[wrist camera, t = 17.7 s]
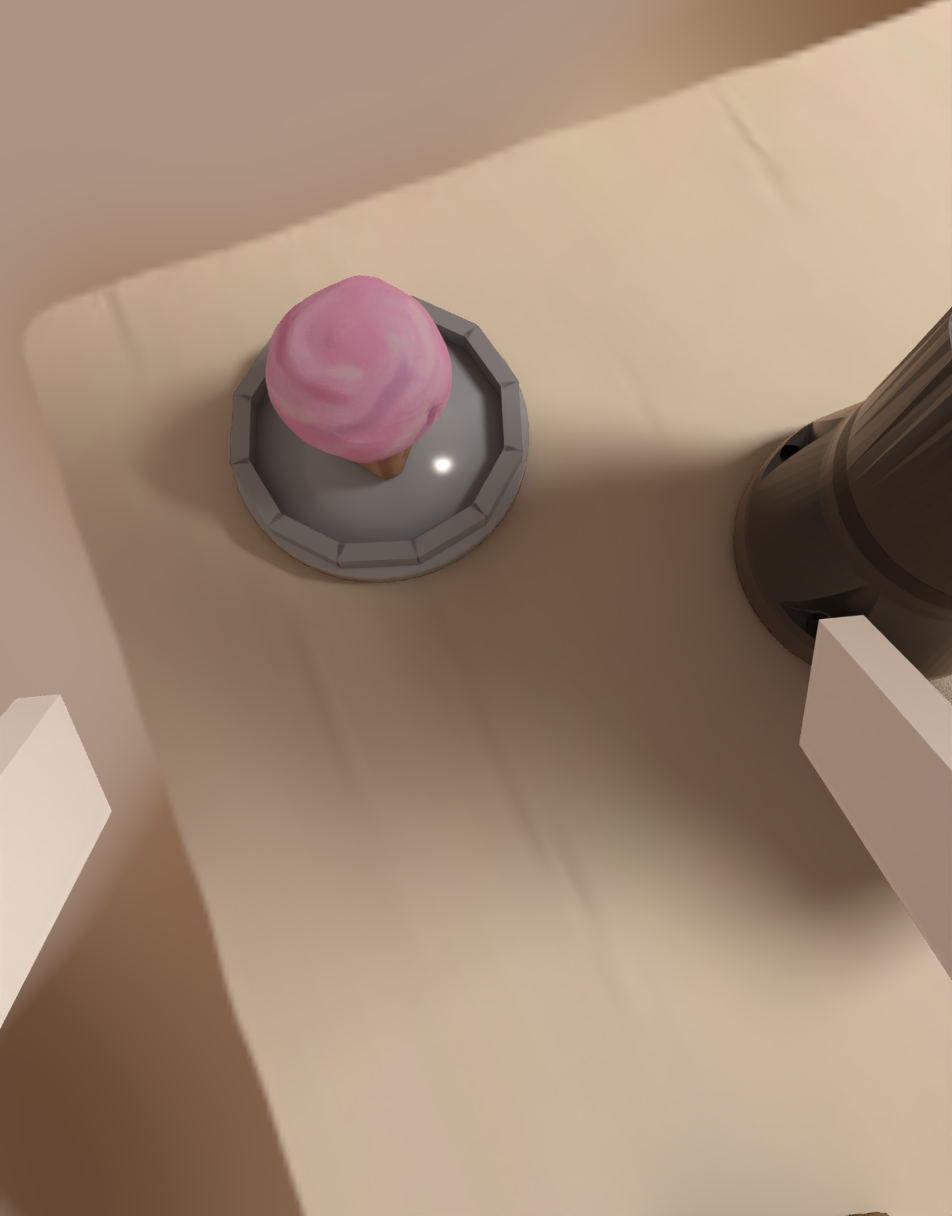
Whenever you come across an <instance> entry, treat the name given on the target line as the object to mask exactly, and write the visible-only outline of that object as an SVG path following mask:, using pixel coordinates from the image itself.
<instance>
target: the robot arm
mask: <svg viewBox="0 0 952 1216" xmlns="http://www.w3.org/2000/svg"><path fill="white" fill-rule="evenodd" d="M734 553H735V560H736V566H737V570H738V574H739V577H740V580H741V583H742V586H743V588H744V591H745V593H746V596H747V597H748V599H749V601H750V603H751V605H752V607H753V609H754V610H755V612H756V613H757V615H758V616H759V618H760V619H761V621H762V622H763V623H764V624H765V626H766V627H767V628H768V629H769V631H770V632H771V633H772V634H773V635H774V636H775V637H776V638H777V639H778V640H779V641H780V642H781V643H782V644H783V645H784V646H785V647H787V648H788V649H789V650H790V651H792V652H793V653H794V654H796V655H797V656H798V657H800V658H801V659H803V660H804V661H806V662H807V663H809V664H811V665H812V666H811V673H810V679H809V685H808V691H807V698H806V704H805V710H804V716H803V723H802V729H801V735H800V741H799V745H800V746H801V748H802V749H803V751H804V753H805V754H806V756H807V757H808V759H809V760H810V762H811V763H812V765H813V766H814V768H815V770H816V771H817V773H818V774H819V776H820V777H821V779H822V780H823V782H824V783H825V785H826V787H827V788H828V790H829V791H830V793H831V794H832V796H833V797H834V799H835V800H836V802H837V804H838V805H839V807H840V808H841V810H842V811H843V813H844V814H845V816H846V817H847V819H848V821H849V822H850V824H851V825H852V827H853V828H854V830H855V831H856V833H857V834H858V836H859V838H860V839H861V841H862V842H863V844H864V845H865V847H866V848H867V850H868V851H869V853H870V855H871V856H872V858H873V859H874V861H875V862H876V864H877V865H878V867H879V868H880V870H881V872H882V873H883V875H884V876H885V878H886V879H887V881H888V882H889V884H890V885H891V887H892V889H893V890H894V892H895V893H896V895H897V896H898V898H899V899H900V901H901V902H902V904H903V906H904V907H905V909H906V910H907V912H908V913H909V915H910V916H911V918H912V919H913V921H914V922H915V924H916V926H917V927H918V929H919V930H920V932H921V933H922V935H923V936H924V938H925V939H926V941H927V943H928V944H929V946H930V947H931V949H932V950H933V952H934V953H935V955H936V956H937V958H938V960H939V961H940V963H941V964H942V966H943V967H944V969H945V970H946V972H947V973H948V975H949V977H950V978H951V980H952V704H951V703H950V702H949V701H948V700H947V699H946V698H945V697H944V696H943V695H942V694H941V693H940V692H939V691H938V690H937V689H936V688H935V687H934V686H933V685H932V684H931V683H930V682H929V681H932V680H935V679H939V678H942V677H946V676H949V675H952V307H951V308H950V309H949V311H948V312H947V313H946V314H945V315H944V316H943V317H942V318H941V319H940V320H939V321H938V323H937V324H936V325H935V326H934V327H933V328H932V329H931V330H930V331H929V332H928V333H927V335H926V336H925V337H924V338H923V339H922V340H921V341H920V342H919V343H918V344H917V345H916V347H915V348H914V349H913V350H912V351H911V352H910V353H909V354H908V355H907V356H906V357H905V358H904V359H903V361H902V362H901V363H900V364H899V365H898V366H897V367H896V368H895V369H894V370H893V371H892V372H891V373H890V374H889V375H888V376H887V377H886V378H885V379H884V380H883V381H882V383H881V384H880V385H879V386H878V387H877V388H876V389H875V390H874V391H873V392H872V393H871V395H870V396H869V397H868V398H867V399H866V400H865V401H862V402H860V403H857V404H855V405H852V406H850V407H847V408H845V409H842V410H840V411H837V412H835V413H832V414H830V415H827V416H825V417H822V418H820V419H818V420H816V421H813V422H811V423H810V424H808V425H806V426H804V427H803V428H801V429H799V430H798V431H796V432H795V433H794V434H792V435H791V436H790V437H788V438H787V439H786V440H785V441H783V442H782V443H781V444H780V445H779V446H778V447H777V448H776V449H775V450H774V451H773V453H772V454H771V455H770V456H769V457H768V458H767V460H766V461H765V462H764V463H763V465H762V466H761V467H760V468H759V470H758V471H757V472H756V474H755V475H754V476H753V478H752V479H751V481H750V483H749V484H748V486H747V488H746V490H745V492H744V494H743V496H742V499H741V501H740V505H739V508H738V511H737V516H736V521H735V527H734ZM111 812H112V811H111V808H110V806H109V804H108V801H107V799H106V797H105V795H104V792H103V790H102V788H101V786H100V783H99V781H98V779H97V776H96V774H95V772H94V770H93V767H92V765H91V763H90V761H89V758H88V756H87V754H86V752H85V749H84V747H83V745H82V742H81V740H80V738H79V736H78V733H77V731H76V729H75V727H74V724H73V722H72V720H71V717H70V715H69V713H68V711H67V709H66V706H65V704H64V702H63V699H62V697H61V695H60V694H54V695H44V696H34V697H24V698H16V699H15V700H14V701H13V702H12V704H11V705H10V706H9V707H8V709H7V710H6V711H5V713H4V714H3V715H2V716H1V717H0V1028H1V1026H2V1024H3V1022H4V1020H5V1018H6V1016H7V1014H8V1012H9V1010H10V1008H11V1006H12V1004H13V1002H14V1001H15V998H16V997H17V995H18V993H19V991H20V989H21V987H22V985H23V983H24V981H25V979H26V977H27V975H28V973H29V971H30V969H31V967H32V965H33V963H34V962H35V959H36V958H37V956H38V954H39V952H40V950H41V948H42V946H43V944H44V942H45V940H46V938H47V936H48V934H49V933H50V931H51V929H52V927H53V924H54V923H55V921H56V919H57V917H58V915H59V913H60V911H61V909H62V907H63V905H64V903H65V901H66V899H67V897H68V896H69V894H70V892H71V890H72V888H73V886H74V884H75V882H76V880H77V878H78V876H79V874H80V872H81V870H82V868H83V866H84V864H85V862H86V860H87V859H88V857H89V855H90V853H91V851H92V849H93V847H94V845H95V843H96V841H97V839H98V837H99V835H100V833H101V831H102V830H103V828H104V826H105V824H106V822H107V820H108V818H109V816H110V814H111Z"/></svg>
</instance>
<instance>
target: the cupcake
mask: <svg viewBox="0 0 952 1216" xmlns="http://www.w3.org/2000/svg"><path fill="white" fill-rule="evenodd" d="M265 374H266V384H267V389H268V394H269V397H270V401H271V403H272V405H273V407H274V408H275V410H276V412H277V413H278V415H279V416H280V418H281V419H282V420H283V421H284V423H285V424H286V425H287V426H288V427H289V428H290V429H291V430H292V431H293V432H294V433H295V434H296V435H297V436H298V437H299V438H301V439H302V440H303V441H305V442H306V443H308V444H310V445H312V446H314V447H316V448H318V449H320V450H322V451H324V452H327V453H329V454H332V455H335V456H337V457H339V458H342V459H345V460H348V461H349V462H351V463H354V464H357V465H360V466H362V467H364V468H366V469H367V470H368V471H370V472H371V473H373V474H374V475H376V476H378V477H380V478H384V479H391V478H394V477H396V476H398V475H399V474H400V473H401V472H402V471H403V469H404V467H405V464H406V461H407V458H408V455H409V453H410V451H411V448H412V446H413V444H414V443H415V442H417V441H418V440H419V439H420V438H421V437H422V436H423V435H424V434H425V433H426V432H427V431H428V430H429V429H430V428H431V427H432V426H433V424H434V423H435V422H436V421H437V420H438V419H439V418H440V416H441V414H442V412H443V410H444V408H445V407H446V404H447V402H448V399H449V396H450V391H451V384H452V366H451V360H450V356H449V353H448V350H447V347H446V344H445V342H444V340H443V338H442V336H441V334H440V332H439V330H438V328H437V326H436V325H435V323H434V321H433V319H432V318H431V316H430V315H429V313H428V312H427V311H426V309H425V308H424V307H423V306H422V305H421V304H420V303H419V302H418V301H417V300H416V299H414V298H413V297H411V296H409V295H408V294H406V293H404V292H402V291H401V290H399V289H397V288H395V287H393V286H392V285H390V284H388V283H386V282H384V281H382V280H380V279H378V278H375V277H369V276H359V275H358V276H354V277H351V278H348V279H345V280H342V281H340V282H339V283H336V284H333V285H331V286H329V287H326V288H324V289H322V290H320V291H318V292H316V293H315V294H313V295H311V296H309V297H308V298H306V299H305V300H303V301H302V302H300V303H299V304H297V305H295V306H294V307H293V308H292V309H291V310H290V311H289V312H288V313H287V314H286V315H285V316H284V318H283V319H282V320H281V321H280V323H279V324H278V326H277V327H276V329H275V331H274V333H273V335H272V337H271V341H270V344H269V349H268V354H267V362H266V371H265Z"/></svg>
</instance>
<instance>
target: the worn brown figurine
mask: <svg viewBox="0 0 952 1216" xmlns="http://www.w3.org/2000/svg"><path fill="white" fill-rule="evenodd" d="M849 1216H850V1215H849ZM854 1216H889V1215H887V1213H885V1214H880V1213H879V1212H878V1213H871V1214H867V1215H865V1214H864V1215H861V1214H859V1215H856V1214H855V1215H854Z"/></svg>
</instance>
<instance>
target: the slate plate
mask: <svg viewBox="0 0 952 1216" xmlns="http://www.w3.org/2000/svg"><path fill="white" fill-rule="evenodd" d="M412 297H413V298H414V299H416V300H417V301H418V302H419V303H420V304H421V305H422V306H423V307H424V308H425V309H426V311H427V312H428V313H429V315H430V316H431V318H432V319H433V321H434V323H435V325H436V326H437V328H438V330H439V332H440V334H441V336H442V338H443V340H444V342H445V344H446V347H447V350H448V353H449V356H450V360H451V366H452V384H451V391H450V396H449V399H448V402H447V404H446V407H445V408H444V410H443V412H442V414H441V416H440V418H439V419H438V420H437V421H436V422H435V423H434V424H433V426H432V427H431V428H430V429H429V430H428V431H427V432H426V433H425V434H424V435H423V436H422V437H421V438H420V439H419V440H418V441H417V442H415V443H414V444H413V446H412V448H411V451H410V453H409V455H408V458H407V461H406V464H405V467H404V469H403V471H402V472H401V473H400V474H399V475H398V476H396V477H394V478H391V479H384V478H380V477H378V476H376V475H374V474H373V473H371V472H370V471H368V470H367V469H366V468H364V467H362V466H360V465H357V464H354V463H351V462H349V461H348V460H345V459H342V458H339V457H337V456H335V455H332V454H329V453H327V452H324V451H322V450H320V449H318V448H316V447H314V446H312V445H310V444H308V443H306V442H305V441H303V440H302V439H301V438H299V437H298V436H297V435H296V434H295V433H294V432H293V431H292V430H291V429H290V428H289V427H288V426H287V425H286V424H285V423H284V421H283V420H282V419H281V418H280V416H279V415H278V413H277V412H276V410H275V408H274V407H273V405H272V403H271V401H270V397H269V394H268V389H267V384H266V374H265V371H266V362H267V354H268V349H269V344H270V341H271V339H270V340H269V342H268V343H267V345H266V346H265V348H264V349H263V351H262V352H261V354H260V355H259V357H258V358H257V360H256V361H255V363H254V364H253V366H252V367H251V369H250V370H249V372H248V373H247V375H246V376H245V378H244V379H243V381H242V382H241V384H240V385H239V387H238V388H237V390H236V391H235V393H234V395H233V414H232V427H231V436H230V456H231V459H230V464H231V467H232V469H233V475H234V478H235V481H236V484H237V487H238V490H239V493H240V495H241V497H242V499H243V501H244V503H245V505H246V507H247V509H248V510H249V512H250V513H251V514H252V516H253V517H254V519H255V520H256V522H257V523H258V524H259V526H260V527H261V528H262V529H263V530H264V532H265V533H266V534H267V535H268V536H269V537H270V538H271V539H272V540H273V541H274V542H275V543H276V544H277V545H278V546H279V547H280V548H282V549H283V550H284V551H285V552H287V553H288V554H289V555H290V556H292V557H293V558H295V559H297V560H298V561H300V562H302V563H303V564H305V565H307V566H308V567H311V568H313V569H315V570H318V571H320V572H322V573H325V574H328V575H332V576H335V577H339V578H342V579H347V580H354V581H361V582H390V581H399V580H406V579H410V578H414V577H419V576H423V575H426V574H428V573H431V572H434V571H436V570H439V569H442V568H444V567H446V566H447V565H449V564H451V563H453V562H455V561H457V560H459V559H460V558H462V557H463V556H465V555H466V554H468V553H469V552H470V551H472V550H473V549H475V548H476V547H477V546H478V545H479V544H480V543H482V542H483V541H484V540H485V539H486V538H487V537H488V536H489V535H490V534H491V533H492V532H493V531H494V529H495V528H496V527H497V526H498V525H499V524H500V522H501V521H502V520H503V518H504V517H505V515H506V514H507V512H508V510H509V509H510V507H511V506H512V504H513V502H514V500H515V497H516V495H517V493H518V491H519V489H520V486H521V482H522V479H523V476H524V472H525V468H526V461H527V454H528V445H529V423H528V416H527V409H526V405H525V402H524V398H523V395H522V391H521V389H520V387H519V382H518V379H517V378H516V377H515V375H514V374H513V372H512V371H511V369H510V368H509V366H508V364H507V363H506V361H505V360H504V359H503V358H502V356H501V355H500V354H499V353H498V352H497V350H496V349H495V348H494V347H493V345H492V344H491V343H490V341H489V340H488V338H487V337H486V336H485V334H484V333H483V332H482V330H481V329H480V328H479V326H477V324H475V323H472V322H470V321H468V320H466V319H463V318H461V317H459V316H457V315H454V314H452V313H450V312H448V311H445V310H443V309H441V308H439V307H436V306H434V305H432V304H430V303H427V302H425V301H423V300H421V299H418V298H416V297H414V296H412Z"/></svg>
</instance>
